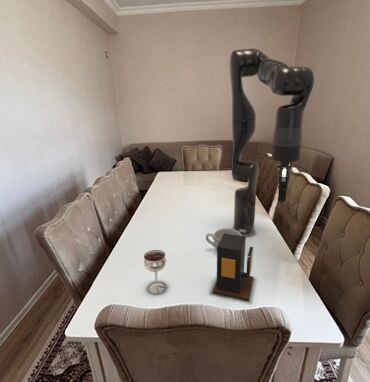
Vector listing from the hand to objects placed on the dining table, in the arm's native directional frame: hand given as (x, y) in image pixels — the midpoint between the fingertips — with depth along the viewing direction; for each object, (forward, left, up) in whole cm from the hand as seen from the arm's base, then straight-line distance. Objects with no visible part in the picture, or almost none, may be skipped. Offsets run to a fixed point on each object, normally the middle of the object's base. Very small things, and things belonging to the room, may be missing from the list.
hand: (281, 200), depth 77 cm
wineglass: (+19, -35, -27) cm, 48 cm away
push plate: (+10, -7, -20) cm, 24 cm away
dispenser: (+10, -13, -27) cm, 32 cm away
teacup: (-10, -20, -27) cm, 35 cm away
